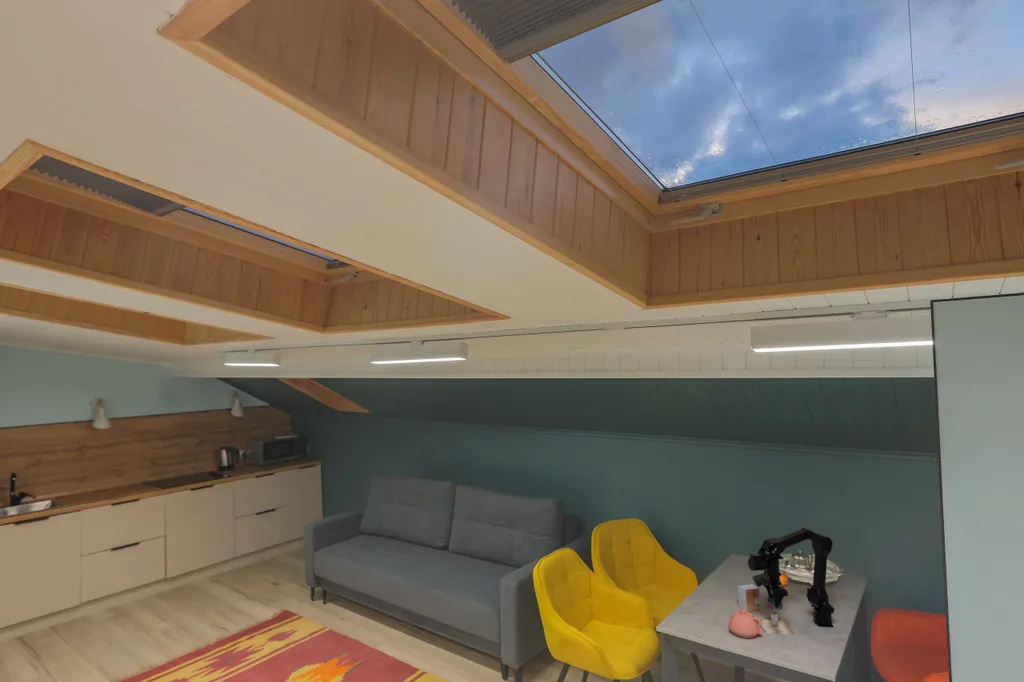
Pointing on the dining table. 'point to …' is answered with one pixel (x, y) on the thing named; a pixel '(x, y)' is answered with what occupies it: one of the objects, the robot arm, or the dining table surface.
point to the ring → (772, 604)
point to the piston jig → (775, 625)
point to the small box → (749, 598)
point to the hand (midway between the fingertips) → (774, 604)
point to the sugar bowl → (744, 624)
